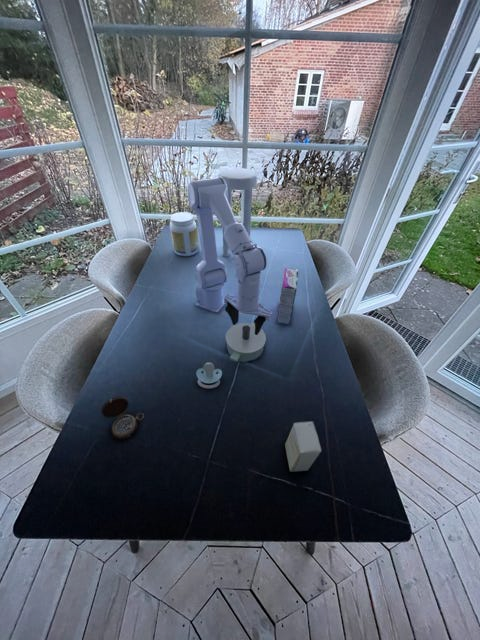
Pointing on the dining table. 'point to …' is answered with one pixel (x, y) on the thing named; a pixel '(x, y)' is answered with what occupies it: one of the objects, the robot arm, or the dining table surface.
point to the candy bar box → (287, 295)
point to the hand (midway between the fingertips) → (246, 327)
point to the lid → (245, 338)
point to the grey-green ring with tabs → (243, 357)
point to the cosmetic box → (302, 446)
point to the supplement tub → (184, 234)
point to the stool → (246, 182)
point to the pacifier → (208, 376)
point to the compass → (120, 417)
